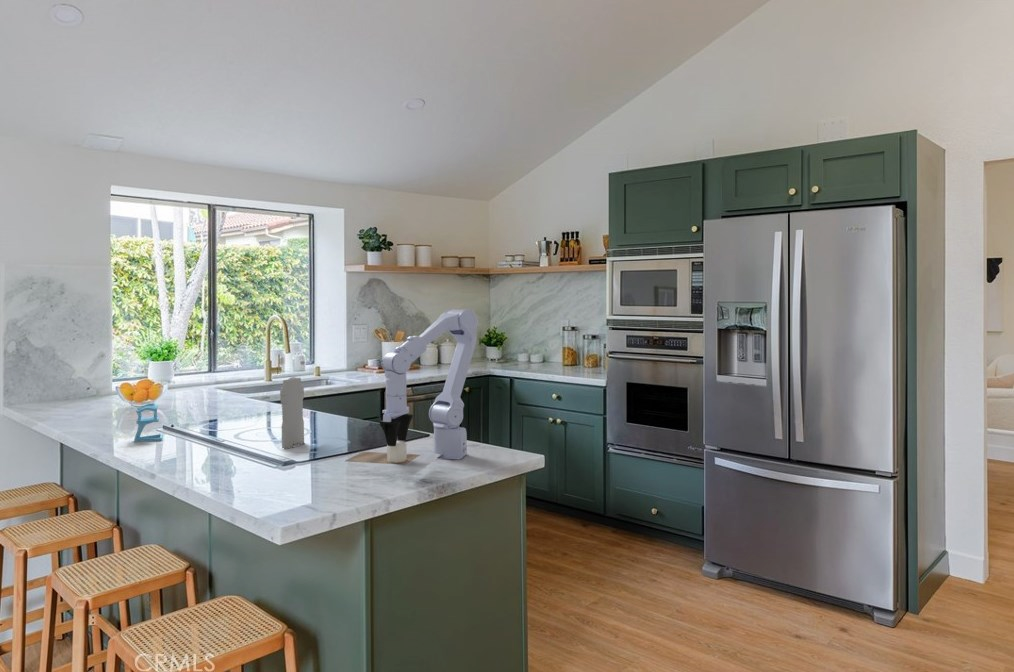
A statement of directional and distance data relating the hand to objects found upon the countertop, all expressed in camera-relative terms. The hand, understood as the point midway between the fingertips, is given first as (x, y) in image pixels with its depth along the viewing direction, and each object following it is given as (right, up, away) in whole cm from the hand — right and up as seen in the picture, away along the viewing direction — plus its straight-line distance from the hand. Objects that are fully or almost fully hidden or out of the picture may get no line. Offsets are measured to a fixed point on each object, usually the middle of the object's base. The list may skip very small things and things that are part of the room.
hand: (396, 443), depth 198 cm
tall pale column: (-37, -5, +26) cm, 46 cm away
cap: (0, -5, 0) cm, 5 cm away
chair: (-88, -5, +36) cm, 95 cm away
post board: (-5, -6, +3) cm, 8 cm away
